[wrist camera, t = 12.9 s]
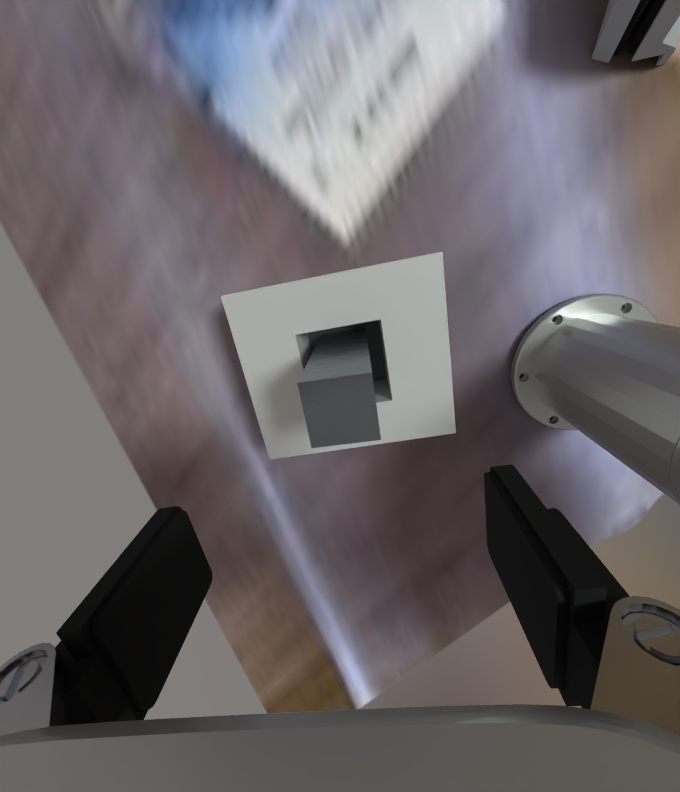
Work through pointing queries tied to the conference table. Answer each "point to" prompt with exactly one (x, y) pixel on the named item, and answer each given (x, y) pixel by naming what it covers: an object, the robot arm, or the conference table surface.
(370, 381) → the bracket bar
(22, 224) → the conference table surface
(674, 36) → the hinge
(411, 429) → the well block
